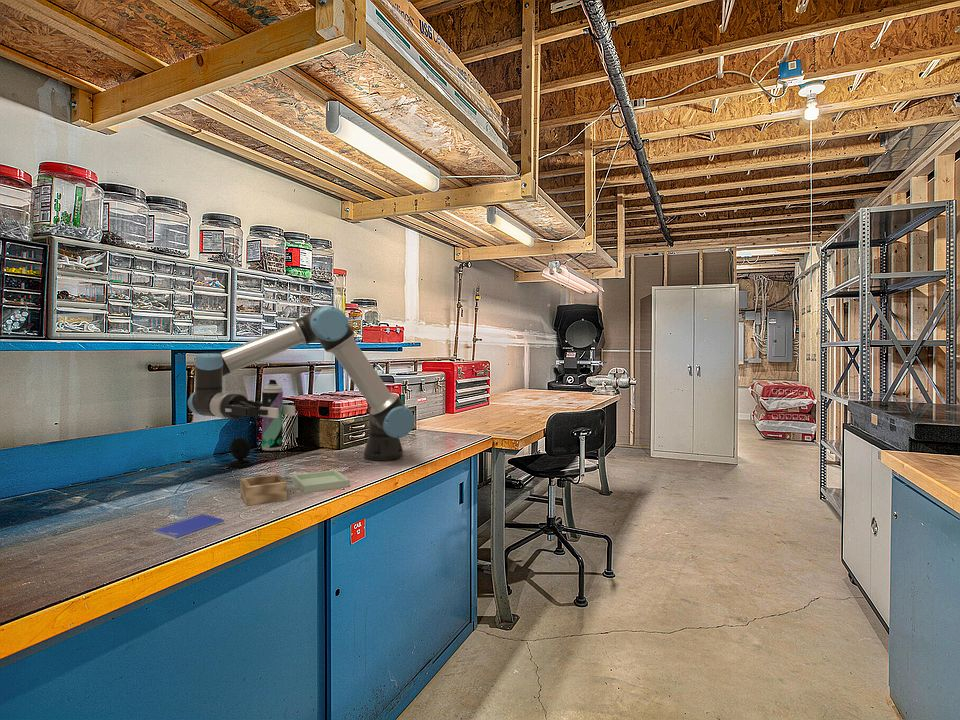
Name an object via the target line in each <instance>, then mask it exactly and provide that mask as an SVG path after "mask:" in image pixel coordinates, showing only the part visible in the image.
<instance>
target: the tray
mask: <svg viewBox="0 0 960 720" xmlns="http://www.w3.org/2000/svg"><path fill="white" fill-rule="evenodd" d="M291 476H292V477H291V479H292V480H291V482H292V483H293V484H294V485H295V486H296V487H297V488H298V489H299V490H300V491H301V492H302V493H303V494H307V493H315V492H320V491H321V492H322V490H323V491H329V489H330V490H334V489H336V488H337V489H342V487H344V488H349V487H348V486H350V487H351V479H350V478H348V477H347V476H346V475H343V474H342V473H341V472H340V471H338V470H336V469H332V470H331V469H330V470H323V471H322V470H321V471H317V472H308V473H307V472H306V473H299V474H292V475H291Z"/></svg>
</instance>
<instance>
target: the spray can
mask: <svg viewBox="0 0 960 720" xmlns="http://www.w3.org/2000/svg"><path fill="white" fill-rule="evenodd" d="M261 398H262V399H261V401H262V407H271V408H279V418H270V417H261V450H262V451H279V450H282V449H283V437H284V436H283V434H284V433H283V430H284V429H283V423H284V420H283V417H284V415H283V403H284V399H283V398H284V391H283V387H282V386H281V385H279V384H278V383H277V380H276V379H269V382H268V383H267V384H266V386H264V387H262V390H261Z"/></svg>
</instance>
